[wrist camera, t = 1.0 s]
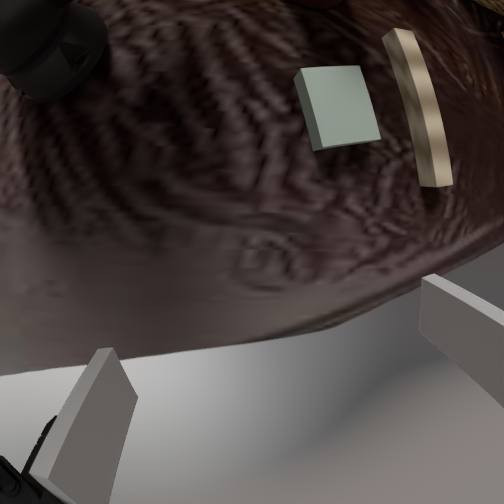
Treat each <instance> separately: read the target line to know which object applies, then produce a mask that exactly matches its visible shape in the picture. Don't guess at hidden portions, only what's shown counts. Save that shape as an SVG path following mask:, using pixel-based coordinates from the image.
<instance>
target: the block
mask: <svg viewBox="0 0 504 504" xmlns="http://www.w3.org/2000/svg"><path fill="white" fill-rule="evenodd" d="M294 82H295V86H296V89H297V92H298V96H299V99H300V103H301V106H302V110H303V113H304V117H305V121H306V125H307V128H308V132H309V136H310V140H311V144H312V148H313V151H315V150H321V149H327V148H333V147H340V146H346V145H353V144H360V143H368V142H371V141H375V140H379V139H381V138H380V134H379V130H378V126H377V122H376V118H375V114H374V111H373V107H372V104H371V100H370V97H369V94H368V90H367V87H366V84H365V81H364V78H363V75H362V72H361V69H360V66H330V67H313V68H301V69H300V70H299V72H298V73H297V75H296V76H295V78H294Z"/></svg>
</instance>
